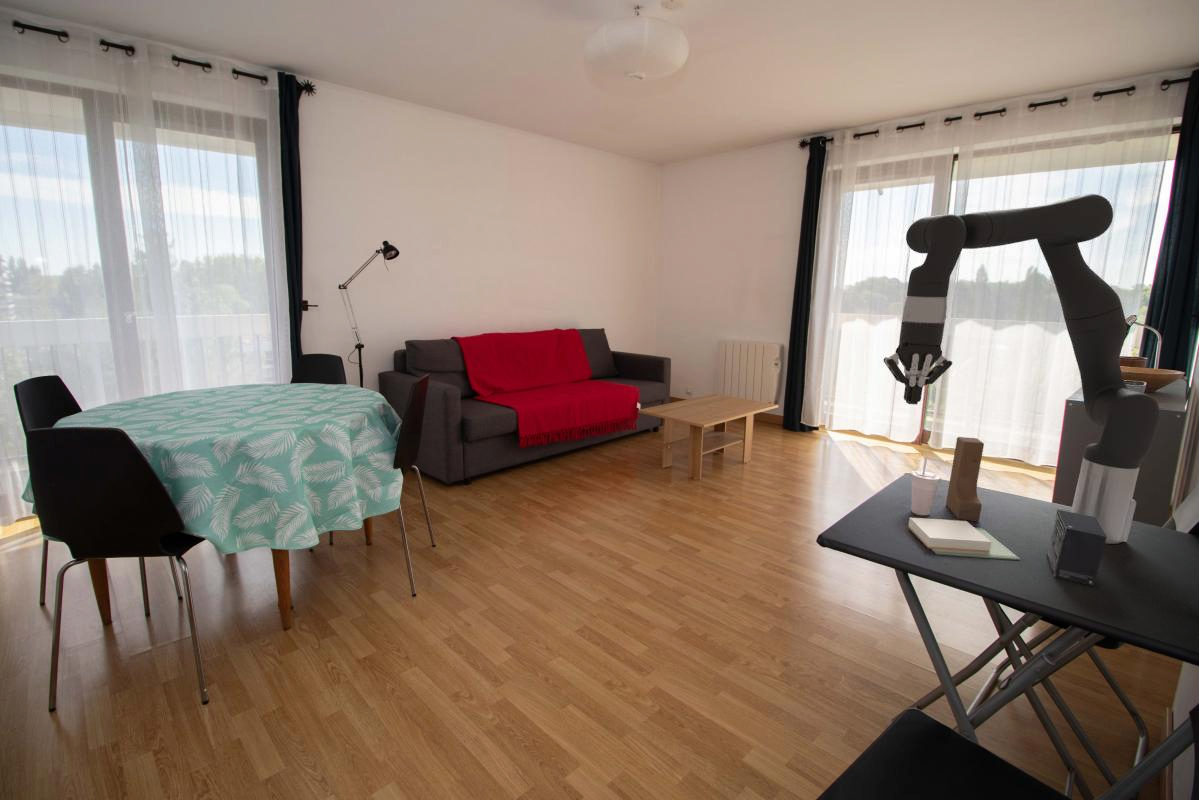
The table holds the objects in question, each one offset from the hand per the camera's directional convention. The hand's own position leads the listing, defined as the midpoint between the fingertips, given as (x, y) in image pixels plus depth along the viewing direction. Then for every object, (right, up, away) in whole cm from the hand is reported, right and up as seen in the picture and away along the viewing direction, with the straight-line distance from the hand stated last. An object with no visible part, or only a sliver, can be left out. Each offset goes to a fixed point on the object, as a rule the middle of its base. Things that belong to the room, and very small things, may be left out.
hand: (911, 403), depth 116 cm
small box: (+28, -33, -6) cm, 44 cm away
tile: (+5, -28, +6) cm, 29 cm away
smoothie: (+13, -27, +20) cm, 36 cm away
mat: (+14, -30, +5) cm, 33 cm away
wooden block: (+23, -27, +20) cm, 41 cm away
